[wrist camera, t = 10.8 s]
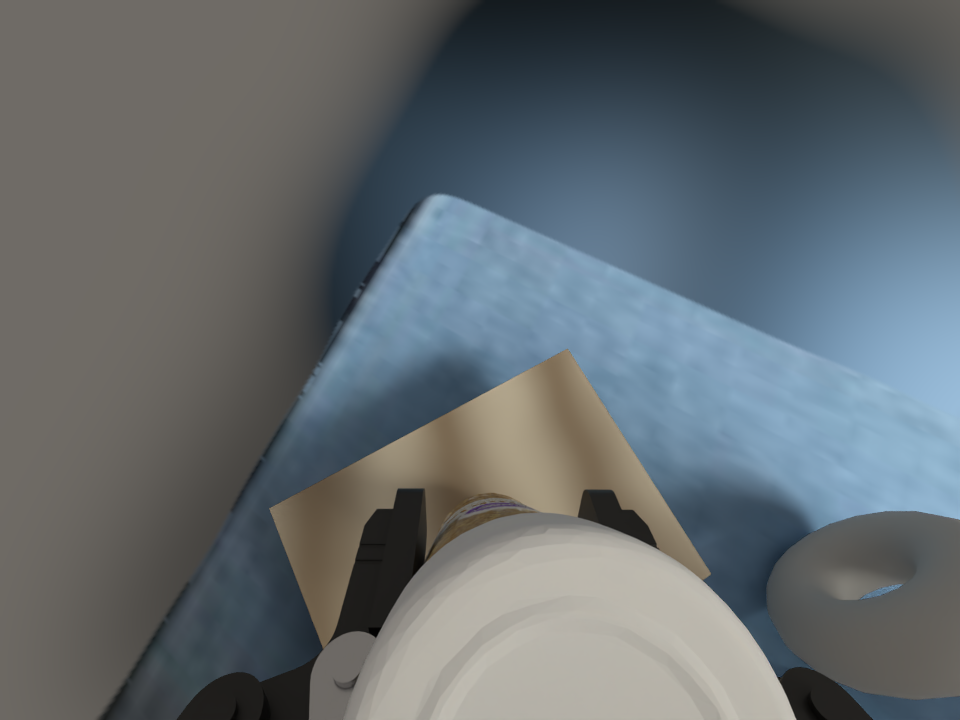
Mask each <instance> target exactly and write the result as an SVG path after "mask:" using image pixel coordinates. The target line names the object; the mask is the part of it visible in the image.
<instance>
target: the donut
mask: <svg viewBox="0 0 960 720" xmlns="http://www.w3.org/2000/svg"><path fill="white" fill-rule="evenodd" d="M897 584H903V585H902V586H901V587H899V588H898V589H895V590H893V591H891V592H888V593H886V594H883V595H881V596H877V597H872V598H867V599H862V600H859V599H860V598H862V597H863V596H864V595H866V594H868V593H870V592H872V591H875V590H877V589H879V588H883V587H888V586H892V585H897ZM766 594H767V609H768V614H769V617H770V618H771V620H772V622H773V624H774V626H775V627H776V629H777V631H778V633H779V634H780V636H781V638H782V640H783V641H784V643H785V645H786V646H787V647H788V648H789V649H790V650H791V651H792V652H793V653H794V654H795V655H796V656H798V657H799V658H800V659H801V660H803V661H804V662H805V663H807V664H808V665H809V666H810V667H812V668H813V669H814V670H816V671H817V672H819V673H821V674H823V675H825V676H826V677H828V678H830V679H831V680H833V681H836V682H838V683H841V684H843V685H846V686H848V687H851V688H853V689H856V690H858V691H861V692H864V693H869V694H876V695H883V696H890V697H897V698H905V699H912V700H921V699H933V698H945V697H957V696H960V520H958V519H954V518H949V517H944V516H938V515H933V514H928V513H922V512H917V511H884V512H878V513H872V514H866V515H859V516H854V517H851V518H848V519H845V520H841V521H838V522H835V523H832V524H829V525H827V526H825V527H823V528H821V529H819V530H817V531H814V532H812V533H810V534H808V535H807V536H805V537H804V538H802V539H801V540H800V541H798V542H797V543H796V544H794V545H793V546H791V547H790V548H789V549H788V550H787V551H786V552H785V553H784V554H783V555H782V557H781V558H780V559H779V560H778V561H777V562H776V563H775V565H774V568H773V570H772V572H771V575H770V577H769V579H768V583H767V586H766Z"/></svg>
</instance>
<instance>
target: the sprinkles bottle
mask: <svg viewBox="0 0 960 720" xmlns="http://www.w3.org/2000/svg"><path fill="white" fill-rule="evenodd" d="M343 720H796V718H795V715H794V713H793V710H792V708H791V706H790V703H789V701H788V698H787V696H786V694H785V692H784V690H783V688H782V686H781V684H780V682H779V680H778V678H777V676H776V674H775V673H774V671H773V669H772V667H771V665H770V663H769V662H768V660H767V658H766V656H765V655H764V653H763V652H762V650H761V649H760V647H759V646H758V644H757V643H756V641H755V640H754V638H753V637H752V635H751V634H750V632H749V631H748V629H747V628H746V627H745V626H744V624H743V623H742V622H741V621H740V620H739V618H738V617H737V616H736V615H735V614H734V612H733V611H732V610H731V609H730V608H729V606H728V605H727V604H726V603H725V602H724V601H723V600H722V599H721V598H720V597H719V596H718V595H717V594H716V593H715V592H714V591H713V590H712V589H711V588H710V587H709V586H708V585H707V584H706V583H705V582H704V581H703V580H701V579H700V578H699V577H698V576H696V575H695V574H694V573H693V572H691V571H690V570H689V569H688V568H686V567H685V566H684V565H682V564H681V563H679V562H678V561H676V560H675V559H673V558H671V557H670V556H668V555H666V554H665V553H663V552H661V551H660V550H658V549H656V548H654V547H652V546H650V545H648V544H646V543H644V542H642V541H640V540H638V539H636V538H634V537H631V536H629V535H626V534H624V533H622V532H619V531H617V530H614V529H612V528H609V527H606V526H604V525H601V524H598V523H595V522H592V521H589V520H585V519H582V518H578V517H574V516H569V515H564V514H556V513H542V512H540V511H537V510H535V509H533V508H531V507H529V506H526V505H524V504H522V503H521V502H519V501H518V500H515V499H513V498H512V497H509V496H506V495H502V494H497V493H485V494H477V495H475V496H472V497H469V498H467V499H466V500H464V501H462V502H461V503H459V504H458V505H457V506H455V507H454V508H453V509H452V510H451V511H450V512H449V513H448V515H447V516H446V517H445V519H444V520H443V522H442V525H441V527H440V529H439V531H438V534H437V537H436V538H435V540H434V542H433V544H432V546H431V548H430V550H429V552H428V555H427V557H426V559H425V562H424V565H423V566H422V567H421V568H420V569H419V570H418V572H417V573H416V574H415V575H414V576H413V578H412V579H411V580H410V582H409V583H408V584H407V586H406V587H405V588H404V590H403V592H402V593H401V595H400V596H399V598H398V600H397V601H396V603H395V605H394V606H393V608H392V610H391V611H390V613H389V615H388V617H387V619H386V621H385V623H384V624H383V626H382V628H381V630H380V632H379V634H378V636H377V638H376V640H375V642H374V644H373V646H372V648H371V650H370V652H369V654H368V656H367V658H366V660H365V663H364V665H363V667H362V669H361V671H360V674H359V676H358V679H357V681H356V684H355V686H354V689H353V692H352V694H351V697H350V699H349V702H348V706H347V709H346V712H345V716H344V719H343Z"/></svg>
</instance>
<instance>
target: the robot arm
mask: <svg viewBox="0 0 960 720" xmlns="http://www.w3.org/2000/svg"><path fill="white" fill-rule="evenodd" d="M578 518H582V519H585V520H589V521H592V522H595V523H598V524H601V525H604V526H606V527H609V528H612V529H614V530H617V531H619V532H622V533H624V534H626V535H629V536H631V537H634V538H636V539H638V540H640V541H642V542H644V543H646V544H648V545H650V546H652V547H654V548H656V549H658V550H659V548H657V543H656V541H655V539H654V537H653V535H652V533H651V531H650V529H649V527H648V525H647V524H646V523H645V522H644V521H643V520H642V519H641V518H640V517H639V515H638V514H637V513H636V512H635V511H634V510H622V509H621V507H620V504H619V502H618V500H617V497H616V495H615V493H614V491H613V490H607V489H585V490H584V491H583V494H582V498H581V503H580V508H579V513H578ZM426 542H427V518H426V496H425V488H398V490H397V493H396V497H395V502H394V507H393V509H376V511H375V512H374V513H373V515H372V516H371V517H370V518H369V520H368V521H367V522H366V524H365V525H364V529H363V532H362V536H361V540H360V543H359V548H358V551H357V554H356V558H355V564H354V565H353V569H352V572H351V576H350V580H349V583H348V587H347V591H346V594H345V598H344V601H343V605H342V609H341V612H340V616H339V620H338V623H337V626H336V629H335V632H334V634H333V636H332V638H331V639H330V641H329V642H328V644H327V645H326V646H325V648H324V649H323V650H322V651H321V652H320V653H319V654H318V655H317V656H316V657H315V658H313V659H312V660H311V661H309V662H308V663H306V664H305V665H303V666H301V667H299V668H296V669H294V670H291V671H289V672H286V673H283V674H281V675H278V676H275V677H273V678H270V679H267V680H265V681H262V682H259V681H258V680H257V679H256V678H255V677H254V676H252V675H250V674H248V673H242V672H237V673H231V674H228V675H225V676H222V677H220V678H218V679H216V680H214V681H213V682H211V683H210V684H208V685H207V686H206V687H205V688H203V689H202V690H201V691H200V692H199V693H198V694H197V695H196V696H195V697H194V698H193V699H192V700H191V702H190V703H189V704H188V705H187V707H186V708H185V709H184V711H183V712H182V713H181V715H180V716H179V717H178V719H177V720H343V719H344V716H345V712H346V709H347V706H348V702H349V699H350V697H351V694H352V692H353V689H354V686H355V684H356V681H357V679H358V676H359V674H360V671H361V669H362V667H363V665H364V663H365V660H366V658H367V656H368V654H369V652H370V650H371V648H372V646H373V644H374V642H375V640H376V638H377V636H378V634H379V632H380V630H381V628H382V626H383V624H384V623H385V621H386V619H387V617H388V615H389V613H390V611H391V610H392V608H393V606H394V605H395V603H396V601H397V600H398V598H399V596H400V595H401V593H402V592H403V590H404V588H405V587H406V586H407V584H408V583H409V582H410V580H411V579H412V578H413V576H414V575H415V574H416V573H417V572H418V570H419V569H420V568H421V567H422V566H423V565H424V562H425V554H426ZM777 678H778V680H779V682H780V684H781V686H782V688H783V690H784V692H785V694H786V696H787V698H788V701H789V703H790V706H791V708H792V710H793V713H794V715H795V718H796V720H873V719H872V718H871V717H870V716H869V715H868V714H867V713H866V712H865V711H864V709H863V708H862V707H861V706H860V705H859V704H858V703H857V702H856V701H855V700H854V699H853V698H852V697H851V696H850V695H849V694H848V693H847V692H846V691H845V690H844V689H843V688H842V687H841V686H839V685H838V684H837V683H836V682H834V681H833V680H831V679H830V678H828V677H826V676H825V675H823V674H821V673H819V672H817V671H814V670H811V669H808V668H802V667H797V668H792V669H789V670H788V671H786V672H785V674H784V675H783V676H782V678H780V677H777Z"/></svg>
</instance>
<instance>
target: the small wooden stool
mask: <svg viewBox="0 0 960 720" xmlns="http://www.w3.org/2000/svg"><path fill="white" fill-rule="evenodd" d="M398 488H425V496H426V518H427V542H426V554H425V559H426V557H427V555H428V552H429V550H430V548H431V546H432V544H433V542H434V540H435V538H436V537H437V534H438V531H439V529H440V527H441V525H442V522H443V520H444V519H445V517H446V516H447V515H448V513H449V512H450V511H451V510H452V509H453V508H454V507H455V506H457V505H458V504H459V503H461V502H462V501H464V500H466V499H467V498H469V497H472V496H475V495H477V494H485V493H497V494H502V495H506V496H509V497H512V498H513V499H515V500H518V501H519V502H521V503H522V504H524V505H526V506H529V507H531V508H533V509H535V510H537V511H540V512H542V513H556V514H564V515H569V516H574V517H578V513H579V508H580V503H581V498H582V494H583V491H584V490H585V489H607V490H613V491H614V493H615V495H616V497H617V500H618V502H619V504H620V507H621V509H622V510H634V511H635V512H636V513H637V514H638V515H639V517H640V518H641V519H642V520H643V521H644V522H645V523H646V524H647V525H648V527H649V529H650V531H651V533H652V535H653V537H654V539H655V541H656V543H657V548H659V550H660V551H661V552H663V553H665V554H666V555H668V556H670V557H671V558H673V559H675V560H676V561H678V562H679V563H681V564H682V565H684V566H685V567H686V568H688V569H689V570H690V571H691V572H693V573H694V574H695V575H696V576H698V577H699V578H700V579H701V580H704V579H705V578H707V577H708V576H710V575H711V573H710V571H709V569H708V568H707V566H706V565H705V563H704V562H703V560H702V558H701V557H700V555H699V554H698V552H697V551H696V549H695V547H694V546H693V544H692V543H691V541H690V540H689V538H688V537H687V535H686V533H685V532H684V530H683V529H682V527H681V526H680V524H679V522H678V521H677V519H676V518H675V516H674V515H673V513H672V511H671V510H670V508H669V507H668V505H667V504H666V502H665V500H664V499H663V497H662V496H661V494H660V493H659V491H658V489H657V488H656V486H655V485H654V483H653V482H652V480H651V478H650V477H649V475H648V474H647V472H646V471H645V469H644V467H643V466H642V464H641V463H640V461H639V460H638V458H637V456H636V455H635V453H634V452H633V450H632V449H631V447H630V446H629V444H628V442H627V441H626V439H625V438H624V436H623V435H622V433H621V431H620V430H619V428H618V427H617V425H616V424H615V422H614V420H613V419H612V417H611V416H610V414H609V413H608V411H607V409H606V408H605V406H604V405H603V403H602V402H601V400H600V398H599V397H598V395H597V394H596V392H595V391H594V389H593V387H592V386H591V384H590V383H589V381H588V380H587V378H586V376H585V375H584V373H583V372H582V370H581V369H580V367H579V366H578V364H577V362H576V361H575V359H574V358H573V356H572V355H571V353H570V351H569V350H568V349H566V350H564V351H562V352H561V353H559V354H557V355H555V356H553V357H551V358H549V359H548V360H546V361H544V362H542V363H540V364H538V365H536V366H534V367H533V368H531V369H529V370H527V371H525V372H523V373H521V374H519V375H518V376H516V377H514V378H512V379H510V380H508V381H506V382H505V383H503V384H501V385H499V386H497V387H495V388H493V389H491V390H490V391H488V392H486V393H484V394H482V395H480V396H478V397H477V398H475V399H473V400H471V401H469V402H467V403H465V404H463V405H462V406H460V407H458V408H456V409H454V410H452V411H450V412H449V413H447V414H445V415H443V416H441V417H439V418H437V419H435V420H434V421H432V422H430V423H428V424H426V425H424V426H422V427H420V428H419V429H417V430H415V431H413V432H411V433H409V434H407V435H406V436H404V437H402V438H400V439H398V440H396V441H394V442H392V443H391V444H389V445H387V446H385V447H383V448H381V449H379V450H378V451H376V452H374V453H372V454H370V455H368V456H366V457H364V458H363V459H361V460H359V461H357V462H355V463H353V464H351V465H349V466H348V467H346V468H344V469H342V470H340V471H338V472H336V473H335V474H333V475H331V476H329V477H327V478H325V479H323V480H321V481H320V482H318V483H316V484H314V485H312V486H310V487H308V488H307V489H305V490H303V491H301V492H299V493H297V494H295V495H293V496H292V497H290V498H288V499H286V500H284V501H282V502H280V503H278V504H277V505H275V506H273V507H271V508H269V509H270V512H271V514H272V517H273V519H274V522H275V525H276V527H277V530H278V532H279V535H280V538H281V540H282V543H283V545H284V548H285V551H286V553H287V556H288V558H289V561H290V564H291V566H292V569H293V571H294V574H295V577H296V579H297V582H298V584H299V587H300V590H301V592H302V595H303V597H304V600H305V603H306V605H307V608H308V610H309V613H310V616H311V618H312V621H313V623H314V626H315V629H316V631H317V634H318V636H319V639H320V642H321V644H322V647H323V649H324V648H325V646H326V645H327V644H328V642H329V641H330V639H331V638H332V636H333V634H334V632H335V629H336V626H337V623H338V620H339V616H340V612H341V609H342V605H343V601H344V598H345V594H346V591H347V587H348V583H349V580H350V576H351V572H352V569H353V565H354V564H355V558H356V554H357V551H358V548H359V543H360V540H361V536H362V532H363V529H364V525H365V524H366V522H367V521H368V520H369V518H370V517H371V516H372V515H373V513H374V512H375V511H376V509H393V507H394V502H395V497H396V493H397V490H398Z"/></svg>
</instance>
